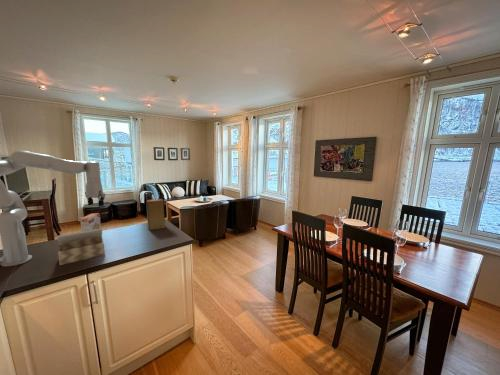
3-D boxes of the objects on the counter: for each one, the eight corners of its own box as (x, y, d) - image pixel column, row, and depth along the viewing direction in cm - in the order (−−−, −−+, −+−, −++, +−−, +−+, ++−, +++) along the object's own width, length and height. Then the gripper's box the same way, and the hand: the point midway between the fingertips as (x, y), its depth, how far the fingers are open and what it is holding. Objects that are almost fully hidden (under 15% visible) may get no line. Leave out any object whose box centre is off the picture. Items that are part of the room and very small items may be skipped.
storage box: (59, 265, 125) (57, 252, 124) (60, 256, 136) (59, 244, 135) (104, 254, 139) (103, 243, 137) (102, 247, 149) (101, 236, 148)
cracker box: (91, 247, 149) (88, 218, 146) (82, 247, 148) (79, 218, 145) (102, 239, 163) (100, 212, 160) (94, 239, 162) (91, 213, 159)
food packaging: (163, 224, 198) (162, 198, 194) (165, 228, 190) (164, 200, 186) (147, 227, 191) (145, 199, 187) (148, 230, 183) (147, 201, 179)
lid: (56, 237, 124) (56, 235, 125) (59, 244, 135) (59, 242, 135) (102, 229, 138) (102, 228, 138) (101, 236, 148) (101, 234, 149)
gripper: (78, 180, 142) (81, 205, 144) (97, 181, 136) (100, 207, 139) (89, 179, 149) (92, 203, 151) (108, 180, 144) (110, 205, 146)
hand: (96, 205), depth 145 cm, fingers open, 9 cm apart
